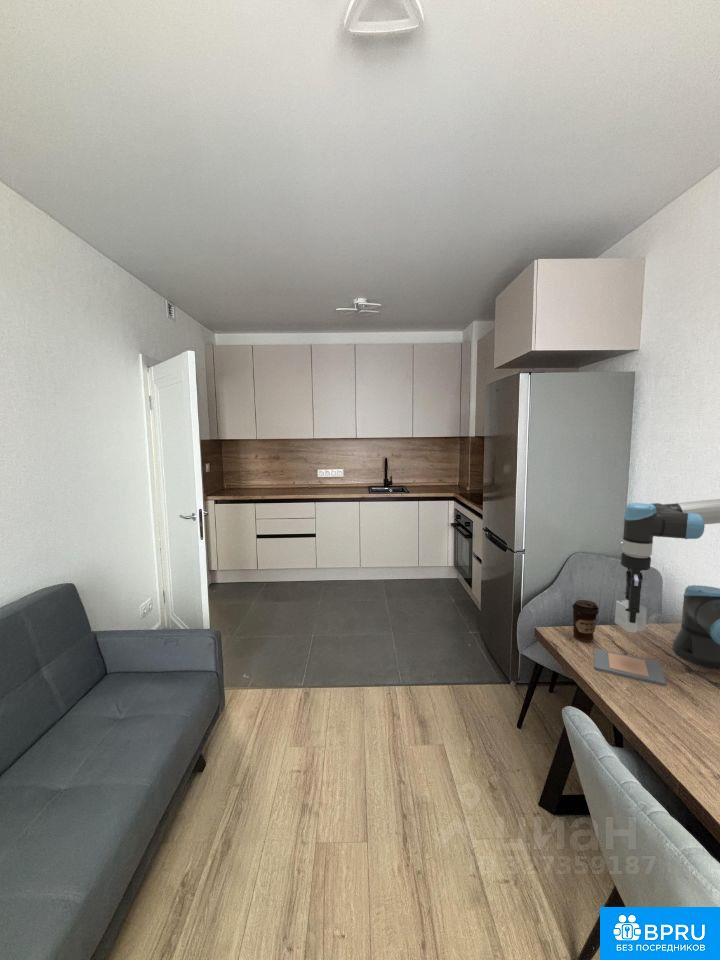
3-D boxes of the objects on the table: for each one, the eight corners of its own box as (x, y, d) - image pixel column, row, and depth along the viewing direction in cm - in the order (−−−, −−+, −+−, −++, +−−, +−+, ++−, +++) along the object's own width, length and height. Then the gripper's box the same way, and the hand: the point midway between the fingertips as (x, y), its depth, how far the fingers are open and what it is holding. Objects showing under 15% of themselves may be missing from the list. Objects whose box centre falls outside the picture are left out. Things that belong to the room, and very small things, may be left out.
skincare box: (645, 631, 127) (648, 608, 126) (626, 631, 127) (628, 608, 126) (632, 622, 133) (634, 600, 132) (613, 622, 133) (615, 600, 132)
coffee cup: (602, 644, 145) (605, 608, 143) (577, 644, 145) (580, 608, 143) (589, 632, 153) (591, 598, 152) (566, 632, 154) (568, 598, 152)
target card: (658, 664, 133) (659, 661, 133) (666, 686, 121) (666, 683, 121) (593, 650, 141) (594, 647, 141) (594, 669, 130) (595, 666, 130)
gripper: (619, 544, 138) (614, 610, 141) (624, 561, 120) (617, 637, 123) (647, 547, 135) (640, 615, 137) (655, 566, 116) (648, 643, 119)
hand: (629, 625), depth 130 cm, fingers closed on skincare box, 8 cm apart
